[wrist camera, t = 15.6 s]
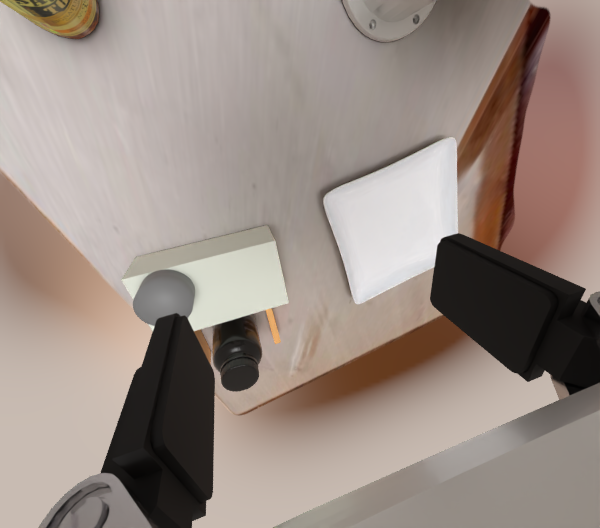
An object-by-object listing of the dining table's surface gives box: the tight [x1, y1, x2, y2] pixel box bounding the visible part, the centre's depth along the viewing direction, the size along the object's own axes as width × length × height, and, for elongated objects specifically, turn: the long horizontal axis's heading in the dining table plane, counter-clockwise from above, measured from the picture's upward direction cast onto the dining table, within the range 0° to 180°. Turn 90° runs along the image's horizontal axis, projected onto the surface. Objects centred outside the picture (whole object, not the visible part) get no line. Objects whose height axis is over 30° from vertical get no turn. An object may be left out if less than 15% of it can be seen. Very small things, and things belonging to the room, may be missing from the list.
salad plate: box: [323, 137, 458, 304], centre depth 42 cm, size 21×21×3 cm
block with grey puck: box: [121, 225, 289, 363], centre depth 37 cm, size 18×20×9 cm
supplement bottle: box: [213, 314, 262, 391], centre depth 38 cm, size 7×7×12 cm
